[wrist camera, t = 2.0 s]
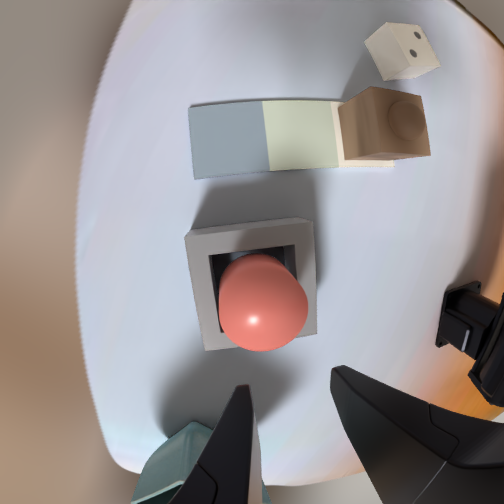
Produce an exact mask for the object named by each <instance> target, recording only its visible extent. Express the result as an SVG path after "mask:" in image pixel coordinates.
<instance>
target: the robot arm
mask: <svg viewBox="0 0 504 504" xmlns="http://www.w3.org/2000/svg"><path fill="white" fill-rule="evenodd" d="M480 289H481V282H480V281H475V282H472V283H470V284H467V285H464V286H461V287H458V288H455V289H452V290H449V291H447V292H446V293H445V295H444V301H443V308H442V314H441V319H440V325H439V330H438V334H437V339H436V344H435V345H436V346H437V347H438V348H440V347H442V346H444V345H446V344H449V343H450V344H451V345H453V346H454V347H455V348H457V349H458V350H459V351H461V352H464V353H466V354H467V355H468V356H470V357H471V358H472V359H474V360H476V361H475V363H474V365H473V367H472V369H471V370H470V371H469V373H468V376H469V378H470V379H471V381H472V382H473V384H474V385H475V386H476V387H477V389H478V390H479V391H480V393H481V394H482V395H483V397H484V398H485V399H486V401H487V402H489V404H490V405H496V406H499V407H504V292H503V295H502V300H501V303H500V304H498V303H496V302H494V301H492V300H490V299H488V298H486V297H484V296H482V295H480ZM330 391H331V394H332V397H333V400H334V403H335V405H336V408H337V411H338V414H339V417H340V419H341V422H342V425H343V427H344V430H345V432H346V434H347V436H348V438H349V440H350V442H351V444H352V445H353V447H354V449H355V451H356V453H357V455H358V457H359V459H360V461H361V463H362V465H363V466H364V468H365V470H366V472H367V474H368V476H369V478H370V480H371V482H372V484H373V485H374V487H375V489H376V491H377V493H378V495H379V497H380V499H381V501H382V503H383V504H504V423H498V422H492V421H488V420H483V419H479V418H475V417H470V416H466V415H463V414H459V413H456V412H452V411H450V410H447V409H444V408H441V407H438V406H436V405H433V404H431V403H430V404H429V403H428V402H426V401H423V400H421V399H419V398H416V397H414V396H411V395H409V394H407V393H404V392H402V391H400V390H397V389H395V388H393V387H391V386H388V385H386V384H384V383H382V382H380V381H377V380H375V379H373V378H371V377H369V376H366V375H364V374H362V373H360V372H358V371H356V370H354V369H352V368H350V367H348V366H345V365H341V366H337V367H334V368H332V370H331V380H330ZM168 504H262V476H261V450H260V442H259V436H258V430H257V423H256V417H255V411H254V405H253V399H252V394H251V389H250V385H249V384H245V385H238V386H236V387H235V389H234V391H233V393H232V395H231V397H230V399H229V401H228V403H227V405H226V407H225V409H224V411H223V413H222V415H221V416H220V418H219V420H218V422H217V424H216V426H215V428H214V430H213V432H212V434H211V435H210V437H209V439H208V441H207V443H206V445H205V447H204V448H203V450H202V452H201V454H200V456H199V458H198V459H197V461H196V464H195V465H194V466H193V468H192V470H191V472H190V473H189V475H188V477H187V478H186V480H185V481H184V483H183V485H182V486H181V487H180V489H179V490H178V491H177V493H176V494H175V495H174V497H173V498H172V499H171V500H170V502H169V503H168Z"/></svg>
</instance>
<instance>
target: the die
mask: <svg viewBox="0 0 504 504" xmlns="http://www.w3.org/2000/svg"><path fill="white" fill-rule="evenodd" d="M364 43H365V45H366V47H367V49H368V51H369V52H370V54H371V56H372V58H373V60H374V62H375V64H376V66H377V68H378V70H379V72H380V74H381V76H382V79H383V81H388V80H399V79H411V78H416V77H418V76H420V75H422V74H425V73H427V72H429V71H431V70H433V69H436V68H438V67H440V66H441V65H440V63H439V61H438V59H437V57H436V55H435V53H434V51H433V49H432V47H431V45H430V43H429V41H428V40H427V38H426V36H425V34H424V32H423V31H422V29H421V27H420V26H419V25H411V24H402V23H390V22H386V23H385V24H384V25H382V26H381V27H380V28H379V29H378V30H377V31H375V32H374V33H373V34H372V35H371V36H370V37H369V38H368V39H366V40H365V41H364Z"/></svg>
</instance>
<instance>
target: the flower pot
mask: <svg viewBox="0 0 504 504" xmlns="http://www.w3.org/2000/svg"><path fill="white" fill-rule="evenodd" d="M212 432H213V430H211V429H210V428H208V427H206V426H204V425H202V424H200V423H198V422H191V423H189V424H188V425H187V426H185V427H184V428H183V429H182V430H180V431H179V432H178V433H176V434H175V435H174V436H172V437H171V438H169V439H168V440H167V441H166V442H165V443H163V444H162V445H161V446H160V447H159V448H158V449H157V450H156V451H155V452H154V453H153V454H152V455H151V457H150V458H149V459H148V461H147V462H146V464H145V466H144V468H143V470H142V473H141V475H140V478H139V481H138V483H137V486H136V489H135V492H134V494H133V497H132V500H131V503H132V504H168V503H169V502H170V500H171V499H172V498H173V497H174V495H175V494H176V493H177V491H178V490H179V489H180V487H181V486H182V485H183V483H184V481H185V480H186V478H187V477H188V475H189V473H190V472H191V470H192V468H193V466H194V465H195V464H196V461H197V459H198V458H199V456H200V454H201V452H202V450H203V448H204V447H205V445H206V443H207V441H208V439H209V437H210V435H211V434H212ZM262 504H272V503H271V500H270V498H269V495H268V493H267V490H266V487H265V485H264V482H263V480H262Z"/></svg>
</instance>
